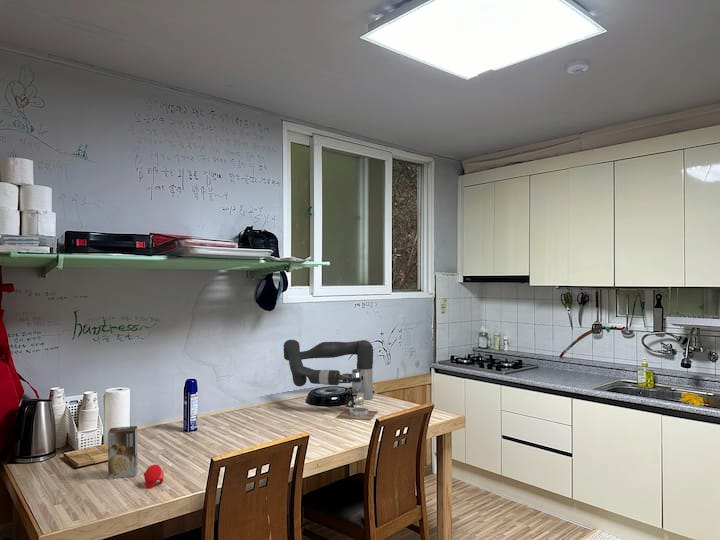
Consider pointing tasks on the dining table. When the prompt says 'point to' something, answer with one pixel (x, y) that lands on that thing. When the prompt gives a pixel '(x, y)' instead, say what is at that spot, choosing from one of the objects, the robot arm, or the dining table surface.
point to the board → (346, 415)
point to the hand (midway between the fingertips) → (361, 379)
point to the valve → (355, 400)
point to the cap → (153, 476)
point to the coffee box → (122, 452)
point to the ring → (359, 412)
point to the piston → (356, 385)
